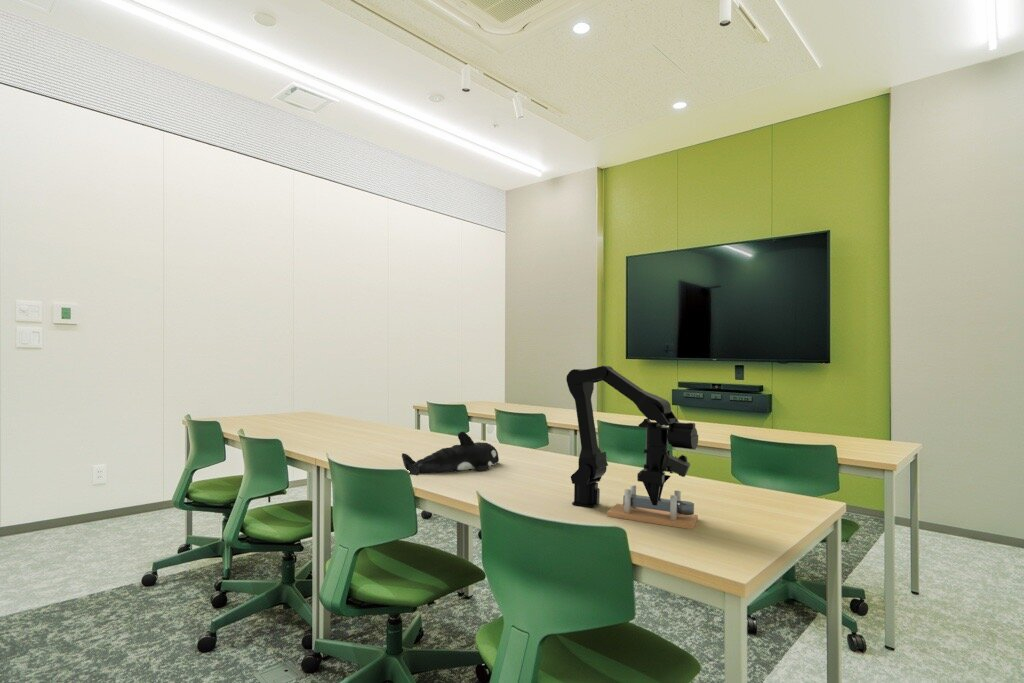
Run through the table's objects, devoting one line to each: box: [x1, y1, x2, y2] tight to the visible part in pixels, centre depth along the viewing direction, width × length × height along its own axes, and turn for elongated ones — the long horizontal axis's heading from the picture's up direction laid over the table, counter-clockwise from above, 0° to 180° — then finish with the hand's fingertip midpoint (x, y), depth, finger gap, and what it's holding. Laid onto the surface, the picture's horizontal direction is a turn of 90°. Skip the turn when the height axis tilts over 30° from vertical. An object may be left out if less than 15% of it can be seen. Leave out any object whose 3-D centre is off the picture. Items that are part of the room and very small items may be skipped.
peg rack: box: [606, 484, 699, 530], centre depth 142 cm, size 22×10×7 cm, turn 64°
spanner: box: [622, 494, 695, 515], centre depth 141 cm, size 18×4×2 cm, turn 64°
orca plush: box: [401, 431, 500, 476], centre depth 205 cm, size 21×41×14 cm, turn 115°
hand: (655, 503), depth 142 cm, fingers closed on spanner, 3 cm apart
